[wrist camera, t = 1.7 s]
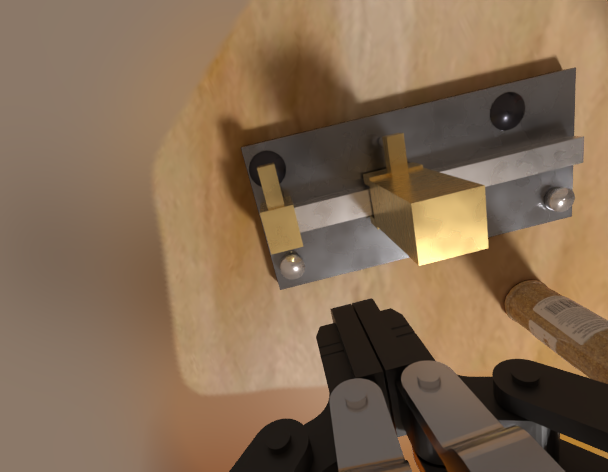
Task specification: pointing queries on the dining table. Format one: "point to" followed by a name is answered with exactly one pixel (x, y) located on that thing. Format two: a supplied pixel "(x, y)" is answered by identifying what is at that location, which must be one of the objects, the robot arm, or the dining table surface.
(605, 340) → the sprinkles bottle
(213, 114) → the dining table surface
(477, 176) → the beam
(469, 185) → the block
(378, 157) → the metal base plate
